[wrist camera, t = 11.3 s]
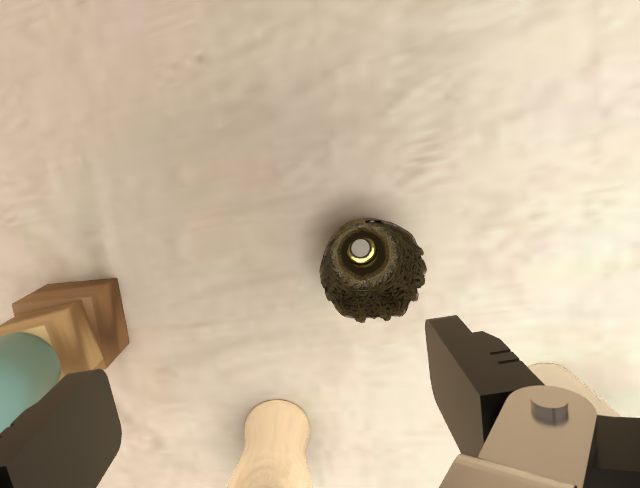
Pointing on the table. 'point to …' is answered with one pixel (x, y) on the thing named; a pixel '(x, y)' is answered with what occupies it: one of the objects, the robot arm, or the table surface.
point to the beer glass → (274, 448)
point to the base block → (87, 311)
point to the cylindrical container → (570, 385)
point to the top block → (61, 334)
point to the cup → (372, 270)
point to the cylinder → (24, 373)
